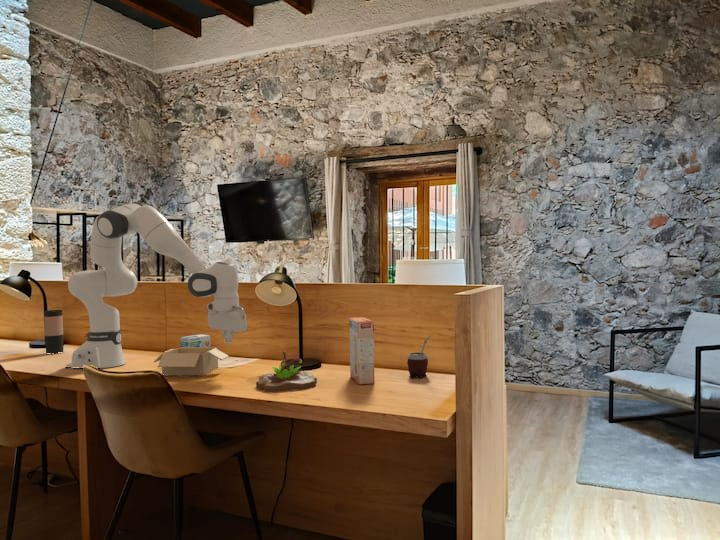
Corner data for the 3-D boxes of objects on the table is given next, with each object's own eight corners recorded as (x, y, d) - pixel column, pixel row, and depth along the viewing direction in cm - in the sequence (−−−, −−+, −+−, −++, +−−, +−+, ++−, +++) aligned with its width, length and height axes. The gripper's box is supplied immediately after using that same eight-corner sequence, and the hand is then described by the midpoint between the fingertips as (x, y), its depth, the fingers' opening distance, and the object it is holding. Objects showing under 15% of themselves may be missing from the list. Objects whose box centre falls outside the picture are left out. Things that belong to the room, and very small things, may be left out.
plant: (311, 376, 199) (310, 345, 199) (320, 389, 180) (320, 354, 180) (254, 381, 195) (253, 349, 194) (257, 394, 176) (256, 359, 175)
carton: (149, 375, 206) (148, 353, 206) (173, 365, 225) (172, 344, 225) (203, 375, 203) (202, 353, 203) (223, 365, 222) (222, 344, 222)
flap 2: (208, 351, 206) (221, 359, 206) (215, 348, 213) (228, 355, 213) (207, 352, 206) (221, 360, 206) (215, 349, 213) (228, 356, 213)
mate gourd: (404, 375, 196) (403, 332, 195) (426, 373, 198) (425, 331, 197) (412, 380, 189) (411, 335, 188) (434, 378, 191) (433, 334, 190)
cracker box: (375, 384, 184) (374, 320, 183) (357, 385, 182) (356, 321, 182) (366, 375, 197) (365, 316, 197) (350, 376, 196) (348, 317, 196)
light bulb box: (190, 364, 226) (189, 338, 225) (180, 363, 230) (179, 337, 229) (211, 360, 234) (211, 334, 234) (201, 359, 238) (200, 333, 238)
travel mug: (42, 353, 262) (41, 311, 262) (59, 351, 268) (58, 309, 268) (49, 355, 257) (47, 311, 257) (66, 352, 263) (65, 310, 263)
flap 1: (163, 354, 205) (157, 367, 201) (163, 353, 205) (157, 366, 200) (200, 354, 203) (194, 367, 199) (199, 353, 203) (194, 366, 198)
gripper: (250, 305, 204) (252, 343, 204) (218, 303, 218) (219, 339, 218) (236, 307, 199) (237, 346, 199) (204, 305, 213) (205, 341, 213)
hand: (228, 342), depth 209 cm, fingers closed
